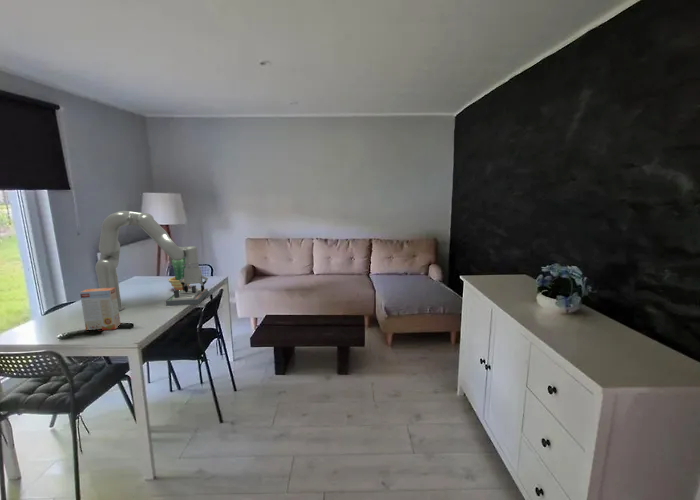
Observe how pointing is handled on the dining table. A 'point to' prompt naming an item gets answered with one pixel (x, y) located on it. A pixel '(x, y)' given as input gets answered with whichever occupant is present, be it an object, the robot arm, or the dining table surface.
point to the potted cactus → (178, 274)
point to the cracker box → (100, 308)
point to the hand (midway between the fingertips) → (194, 291)
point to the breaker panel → (186, 297)
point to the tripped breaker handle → (193, 289)
